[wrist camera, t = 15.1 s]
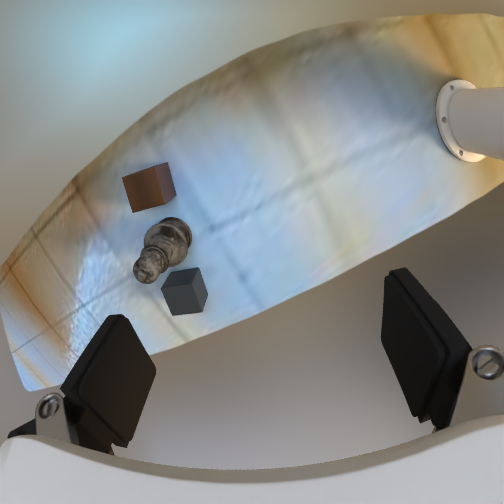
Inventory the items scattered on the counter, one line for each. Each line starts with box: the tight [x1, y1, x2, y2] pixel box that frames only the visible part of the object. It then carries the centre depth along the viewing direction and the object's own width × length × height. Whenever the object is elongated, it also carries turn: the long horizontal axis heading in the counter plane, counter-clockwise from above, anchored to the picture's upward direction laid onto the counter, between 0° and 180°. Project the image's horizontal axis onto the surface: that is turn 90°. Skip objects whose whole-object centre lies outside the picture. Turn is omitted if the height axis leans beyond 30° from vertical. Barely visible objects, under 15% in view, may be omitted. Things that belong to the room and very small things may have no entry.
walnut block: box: [122, 162, 176, 213], centre depth 31 cm, size 4×4×4 cm
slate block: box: [161, 268, 208, 316], centre depth 37 cm, size 4×4×4 cm
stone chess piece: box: [133, 217, 192, 284], centre depth 31 cm, size 6×6×12 cm
